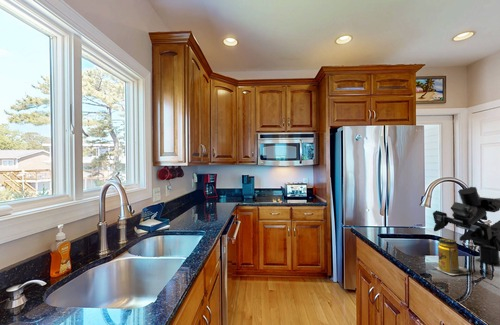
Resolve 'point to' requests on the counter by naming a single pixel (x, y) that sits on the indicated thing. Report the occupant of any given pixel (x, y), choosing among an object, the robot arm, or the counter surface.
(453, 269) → the condiment
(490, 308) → the counter surface
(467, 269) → the mat
